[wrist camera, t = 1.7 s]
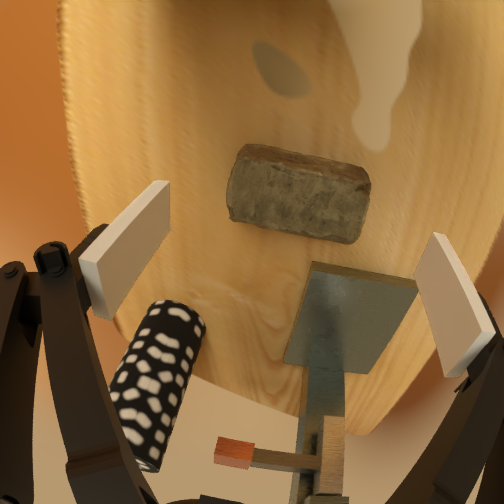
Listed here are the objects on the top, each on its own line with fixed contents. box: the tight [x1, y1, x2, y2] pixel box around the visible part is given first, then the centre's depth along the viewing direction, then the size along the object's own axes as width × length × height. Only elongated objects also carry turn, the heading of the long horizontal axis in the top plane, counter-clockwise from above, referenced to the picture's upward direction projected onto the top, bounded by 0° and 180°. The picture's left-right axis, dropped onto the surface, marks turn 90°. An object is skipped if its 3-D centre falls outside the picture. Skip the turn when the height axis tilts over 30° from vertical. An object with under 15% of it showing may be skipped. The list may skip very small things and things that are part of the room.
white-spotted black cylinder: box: [108, 300, 206, 473], centre depth 33 cm, size 8×8×20 cm
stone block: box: [226, 144, 371, 244], centre depth 26 cm, size 6×12×5 cm, turn 83°
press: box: [283, 261, 419, 504], centre depth 28 cm, size 20×12×24 cm, turn 174°
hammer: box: [214, 415, 345, 496], centre depth 28 cm, size 4×13×9 cm, turn 84°
